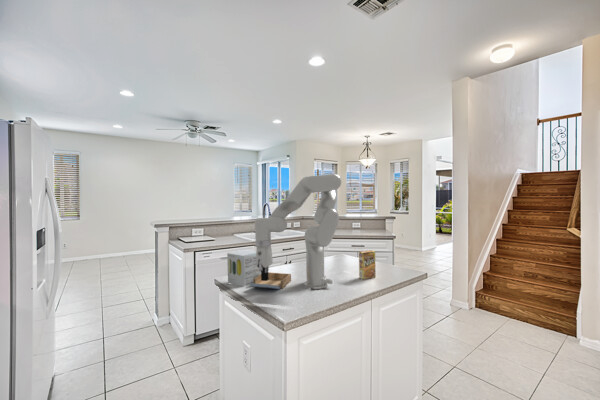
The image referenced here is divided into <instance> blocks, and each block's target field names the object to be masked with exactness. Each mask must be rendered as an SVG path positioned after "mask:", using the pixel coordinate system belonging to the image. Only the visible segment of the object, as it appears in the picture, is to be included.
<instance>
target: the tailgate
mask: <svg viewBox="0 0 600 400" xmlns="http://www.w3.org/2000/svg"><path fill="white" fill-rule="evenodd" d="M249 286H250V287H255V288H259V289H273V290H282V289H281V287H279V286H276V285H267V284H255V283H250V285H249Z"/></svg>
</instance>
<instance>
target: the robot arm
mask: <svg viewBox="0 0 600 400" xmlns="http://www.w3.org/2000/svg"><path fill="white" fill-rule="evenodd" d="M341 186H342V179H341V176H340V175H338V174H337V173H329V174H321V175H309V176H304V177H303V178H301V179H300V181H299V182H297V184H296V186H295V187H294V188H293V190H292V191H291V192H290V193H289V194H288V196H286V198H285V199H284V200H283V201H282V202H281V203H280V204H279V205H278V206H277V207H276V208H275V209H274V210H273V211H272V213H271V214H270V215H269V217H259V218H256V219H255V221H254V230H255V231H254V233H255V238H254V239H255V248H256V250H255V251H256V264H257V267H258V268H259V271H261V280H262V281H267V280H268V279H269V278H268V272H269V269H270V268H269V267H270V266H271V265H272V264H273V260H274V259H273V252H272V234H271V233H282V232H284V231H285V230H286V229H287V228H288V227H287V226H288V222H287V221H286V218H287V217H288V216H289V215H290V214H291V213H293V212H295V211H297V210H299V209H300V208H301V207H302V206H303V205H304V204H305V202H306V201H307V199H308V198H309V197H310V195H312V193H313V194H314V193H315V194H316V193H320V194H321V196H320V199H319V203H318V206H317V207H316V210H315V212H314V216H313V220H314V222H315V224H317V225H318V226H316V225H312V226H309V227H307V229H306V230H305V232H304V243H305V254H306V255H305V258H306V259H305V260H306V261H305V262H306V269H305V270H306V272H305V273H306V280H305V281H304V282H303V285H304V286H306V287H309V288H311V290H321V289H325V288H327V287H328V284H329V285H333V280H332V279H330V278H327V276H326V275H325V248H326V247H328V246H329V245H330V244H331V242H332V241H333V238H334V236H335V233H336V230H337V228H338V225H339V221H340V216H339V211H337V210H336V209H335V207H336V204H337V200H338V199H337V197H338V196H337V194H336V190H338V189H340V188H341Z"/></svg>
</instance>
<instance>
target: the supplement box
mask: <svg viewBox="0 0 600 400" xmlns="http://www.w3.org/2000/svg"><path fill="white" fill-rule="evenodd" d="M256 251H257V250H252V249H247V248H246V249H245V248H244V249H239V250H238V249H237V250H234V251H231V252H227V253H226V255H227V257H226V258H227V284H228V283H231V284H230V285H236V286H239V287H244V288H245V287H247V286H250V283H254V279H255V278H256V277H258V276H259V275H260V274H261V271H259V268H258V267H257V264H256Z"/></svg>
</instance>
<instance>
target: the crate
mask: <svg viewBox="0 0 600 400" xmlns="http://www.w3.org/2000/svg"><path fill="white" fill-rule="evenodd" d="M268 278H269V279H268V280H267V281H262V280H261V274H260V275H259V276H258V277H256V278H255V279H254V283H255V284H267V285H276V286H279V287H281V289H280V290H283V289H285V287H286V286H287V285H288V284H289V283H291V281H292V273H286V272H285V273H283V272H272V271H271V272H269V271H268Z"/></svg>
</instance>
